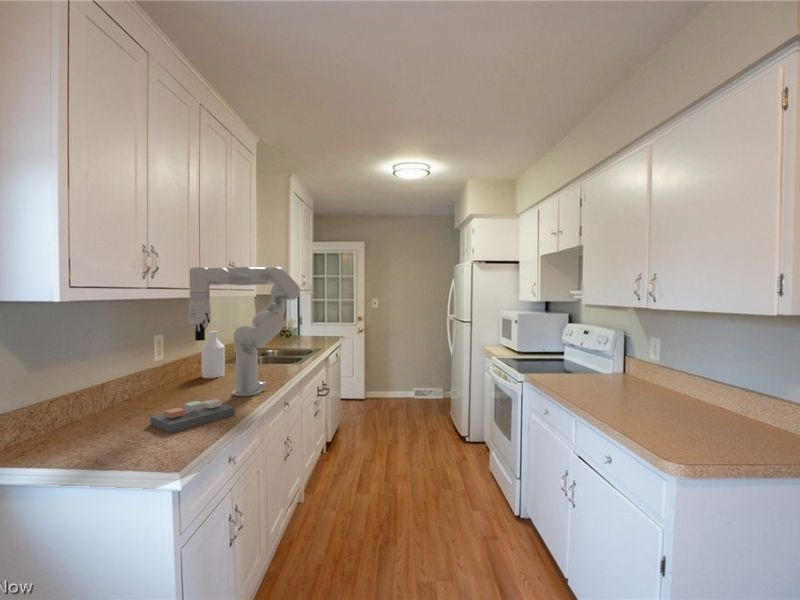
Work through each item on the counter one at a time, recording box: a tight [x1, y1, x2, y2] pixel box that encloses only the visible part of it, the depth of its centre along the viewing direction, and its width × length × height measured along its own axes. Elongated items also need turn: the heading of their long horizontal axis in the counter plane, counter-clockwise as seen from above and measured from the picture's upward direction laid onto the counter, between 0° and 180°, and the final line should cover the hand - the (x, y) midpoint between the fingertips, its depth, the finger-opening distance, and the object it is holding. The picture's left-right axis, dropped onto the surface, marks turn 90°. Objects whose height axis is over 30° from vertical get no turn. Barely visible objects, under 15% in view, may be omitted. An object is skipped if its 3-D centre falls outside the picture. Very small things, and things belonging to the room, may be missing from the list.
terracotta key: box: [163, 407, 185, 418], centre depth 142 cm, size 5×5×2 cm
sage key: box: [183, 400, 204, 411], centre depth 147 cm, size 5×5×2 cm
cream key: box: [202, 398, 223, 409], centre depth 153 cm, size 5×5×2 cm
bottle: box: [200, 330, 226, 379], centre depth 222 cm, size 12×12×25 cm
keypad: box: [150, 403, 236, 434], centre depth 148 cm, size 24×14×3 cm, turn 145°
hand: (200, 340), depth 167 cm, fingers closed
